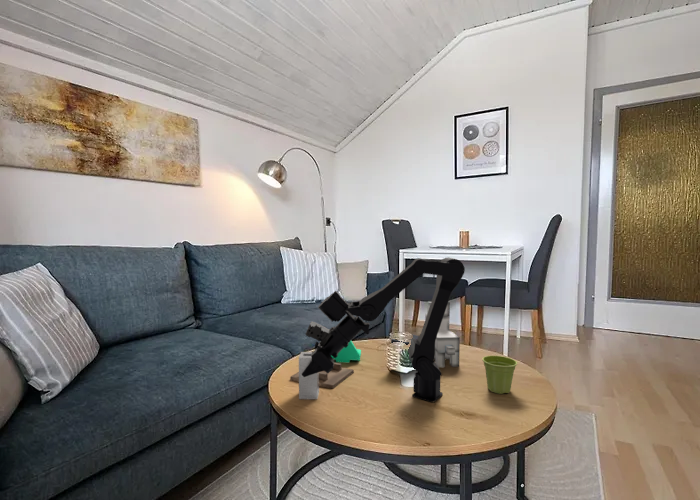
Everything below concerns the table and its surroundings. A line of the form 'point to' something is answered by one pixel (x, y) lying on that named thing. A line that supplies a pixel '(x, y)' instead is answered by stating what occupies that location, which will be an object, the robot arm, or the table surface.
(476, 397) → the table surface
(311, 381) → the block
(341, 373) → the cradle
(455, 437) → the table surface
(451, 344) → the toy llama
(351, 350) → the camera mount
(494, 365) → the plant pot
